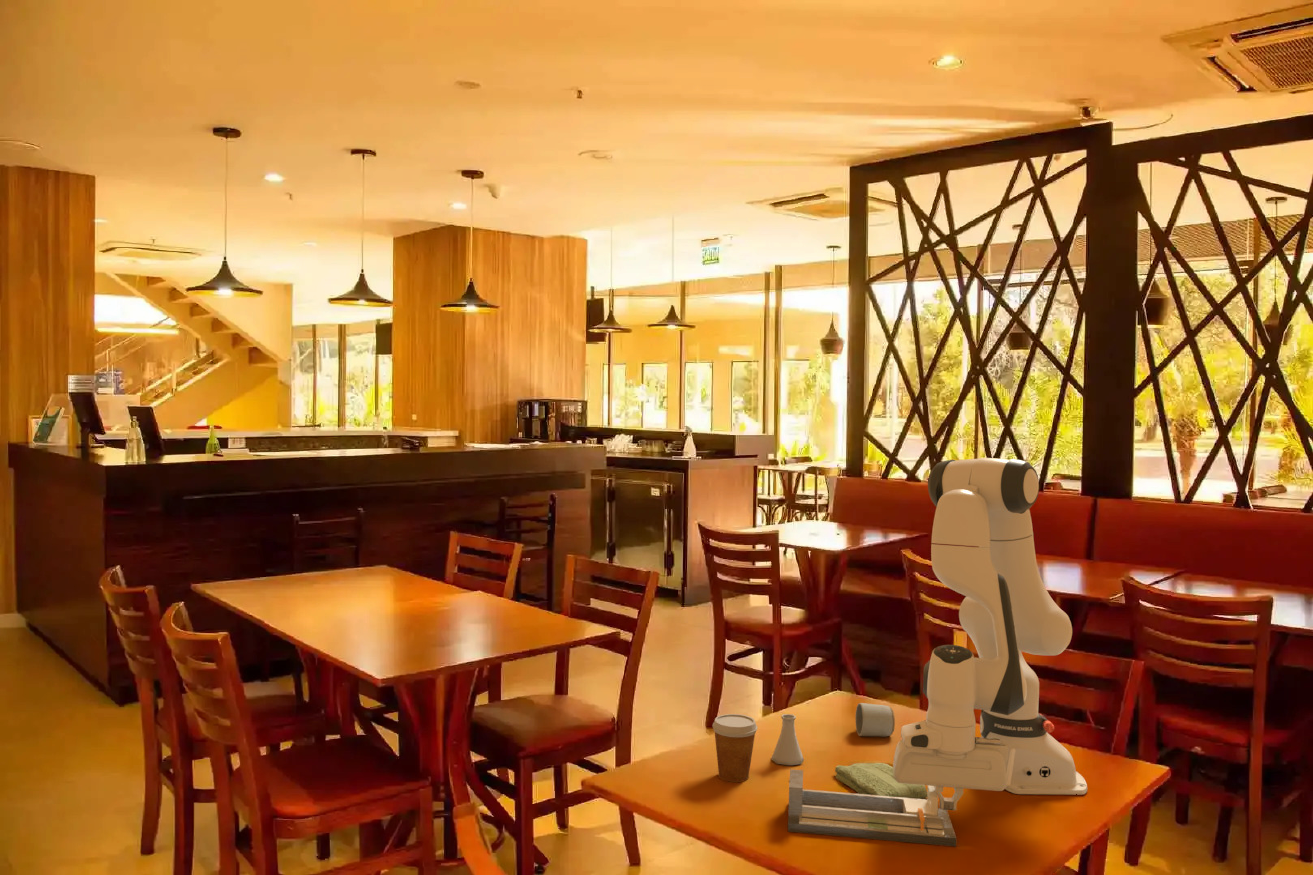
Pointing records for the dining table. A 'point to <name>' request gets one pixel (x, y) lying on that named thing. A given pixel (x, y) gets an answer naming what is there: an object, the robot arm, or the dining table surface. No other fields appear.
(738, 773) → the disposable coffee cup
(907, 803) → the cream corner bracket
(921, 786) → the washcloth
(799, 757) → the flask
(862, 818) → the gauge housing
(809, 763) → the dining table surface
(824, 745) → the dining table surface
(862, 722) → the ceramic mug
